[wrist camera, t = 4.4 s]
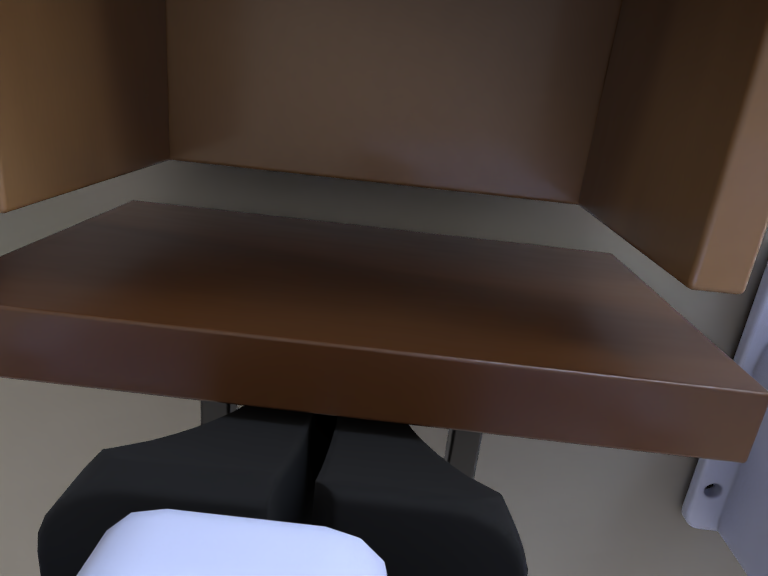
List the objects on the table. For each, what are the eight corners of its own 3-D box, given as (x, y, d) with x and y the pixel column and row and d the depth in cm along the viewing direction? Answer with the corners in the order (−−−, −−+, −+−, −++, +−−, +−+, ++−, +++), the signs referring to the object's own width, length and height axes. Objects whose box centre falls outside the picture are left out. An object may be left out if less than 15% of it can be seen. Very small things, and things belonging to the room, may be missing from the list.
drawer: (562, 453, 17) (658, 694, 10) (142, 403, 17) (-32, 611, 10) (764, -360, 11) (1346, -1090, 4) (99, -424, 11) (-405, -1231, 4)
